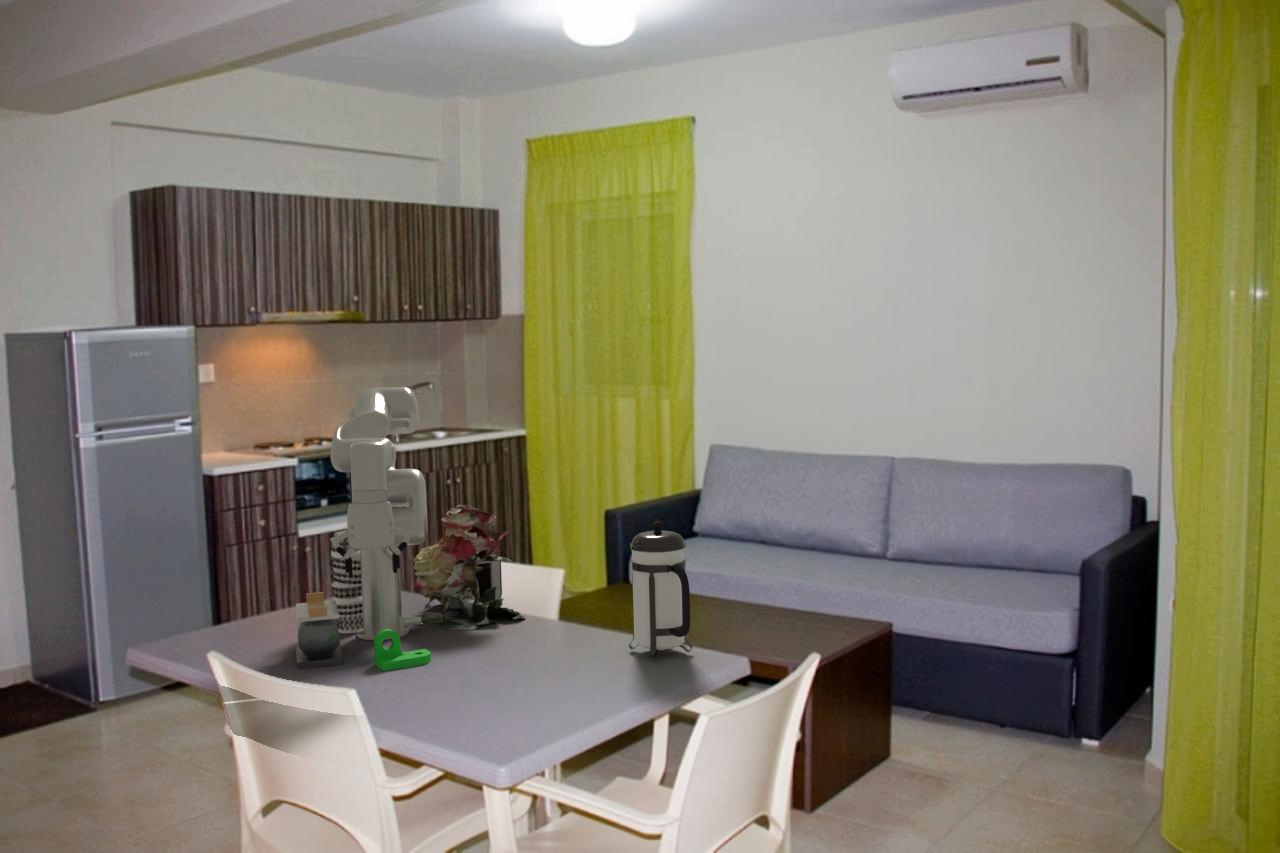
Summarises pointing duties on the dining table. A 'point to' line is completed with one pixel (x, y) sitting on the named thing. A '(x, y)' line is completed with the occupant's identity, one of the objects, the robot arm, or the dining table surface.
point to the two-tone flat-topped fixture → (317, 633)
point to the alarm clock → (483, 580)
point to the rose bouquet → (461, 570)
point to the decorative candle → (347, 589)
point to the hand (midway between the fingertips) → (372, 573)
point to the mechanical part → (396, 653)
